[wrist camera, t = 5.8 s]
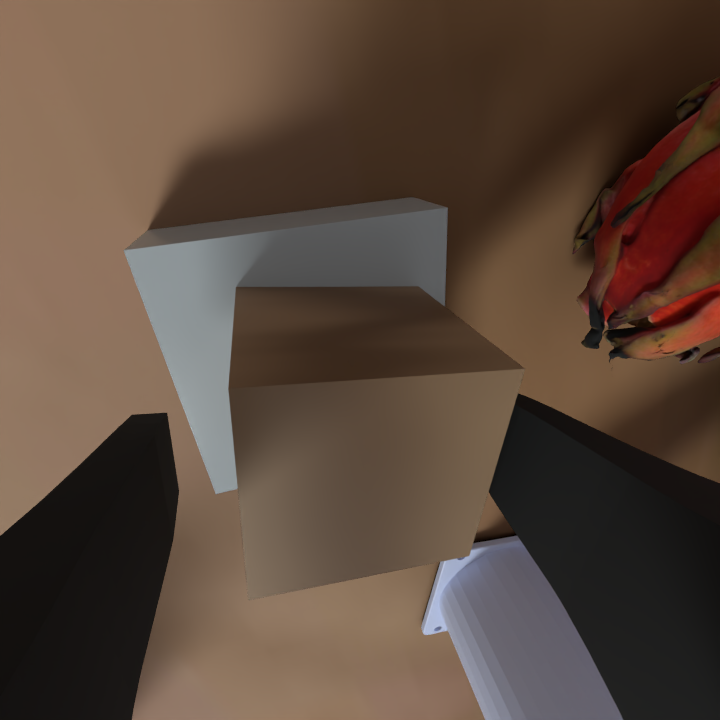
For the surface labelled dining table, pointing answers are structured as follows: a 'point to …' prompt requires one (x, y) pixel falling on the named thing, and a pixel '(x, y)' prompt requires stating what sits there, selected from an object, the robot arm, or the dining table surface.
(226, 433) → the grey flat square block
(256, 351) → the walnut cube
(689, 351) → the dragon fruit
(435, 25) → the dining table surface
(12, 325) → the dining table surface
